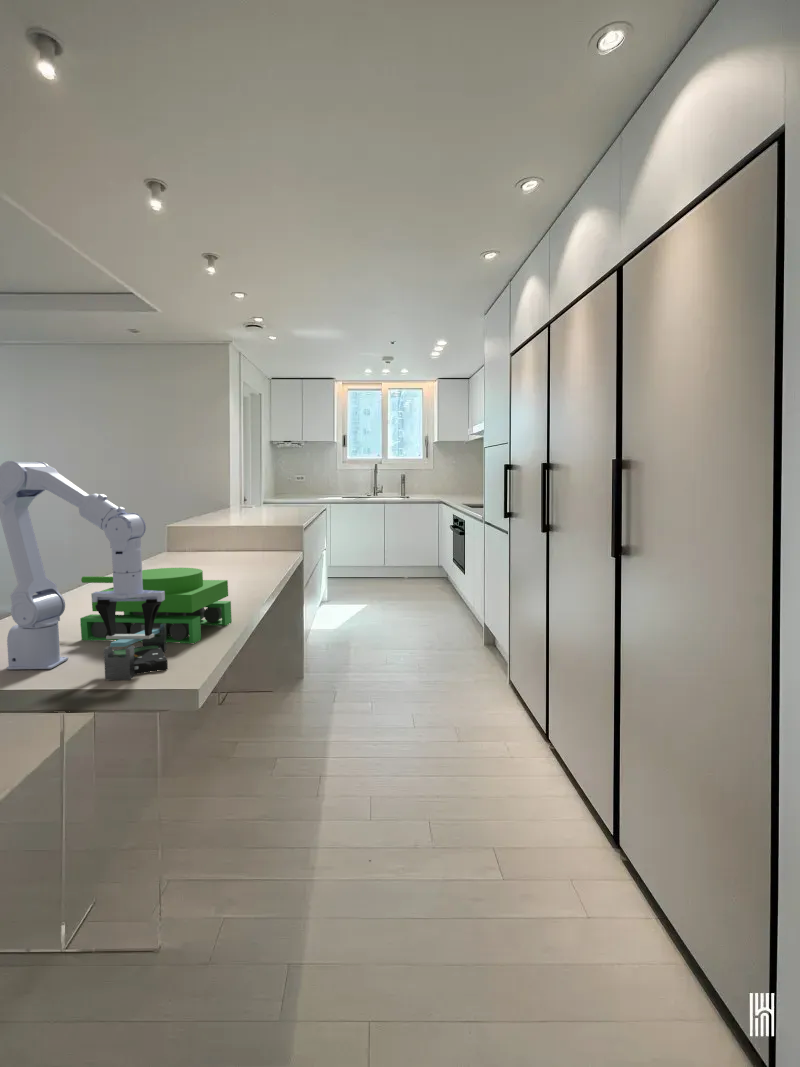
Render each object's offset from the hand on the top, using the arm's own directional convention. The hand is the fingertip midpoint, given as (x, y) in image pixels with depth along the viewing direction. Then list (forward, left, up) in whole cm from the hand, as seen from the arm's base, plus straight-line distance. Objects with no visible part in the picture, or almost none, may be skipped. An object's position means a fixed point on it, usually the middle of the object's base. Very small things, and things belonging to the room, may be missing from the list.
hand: (130, 635), depth 140 cm
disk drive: (0, +4, -8) cm, 9 cm away
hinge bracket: (0, +14, -7) cm, 16 cm away
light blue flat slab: (0, +4, -2) cm, 5 cm away
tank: (-9, +35, -8) cm, 37 cm away
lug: (0, -6, -7) cm, 9 cm away
